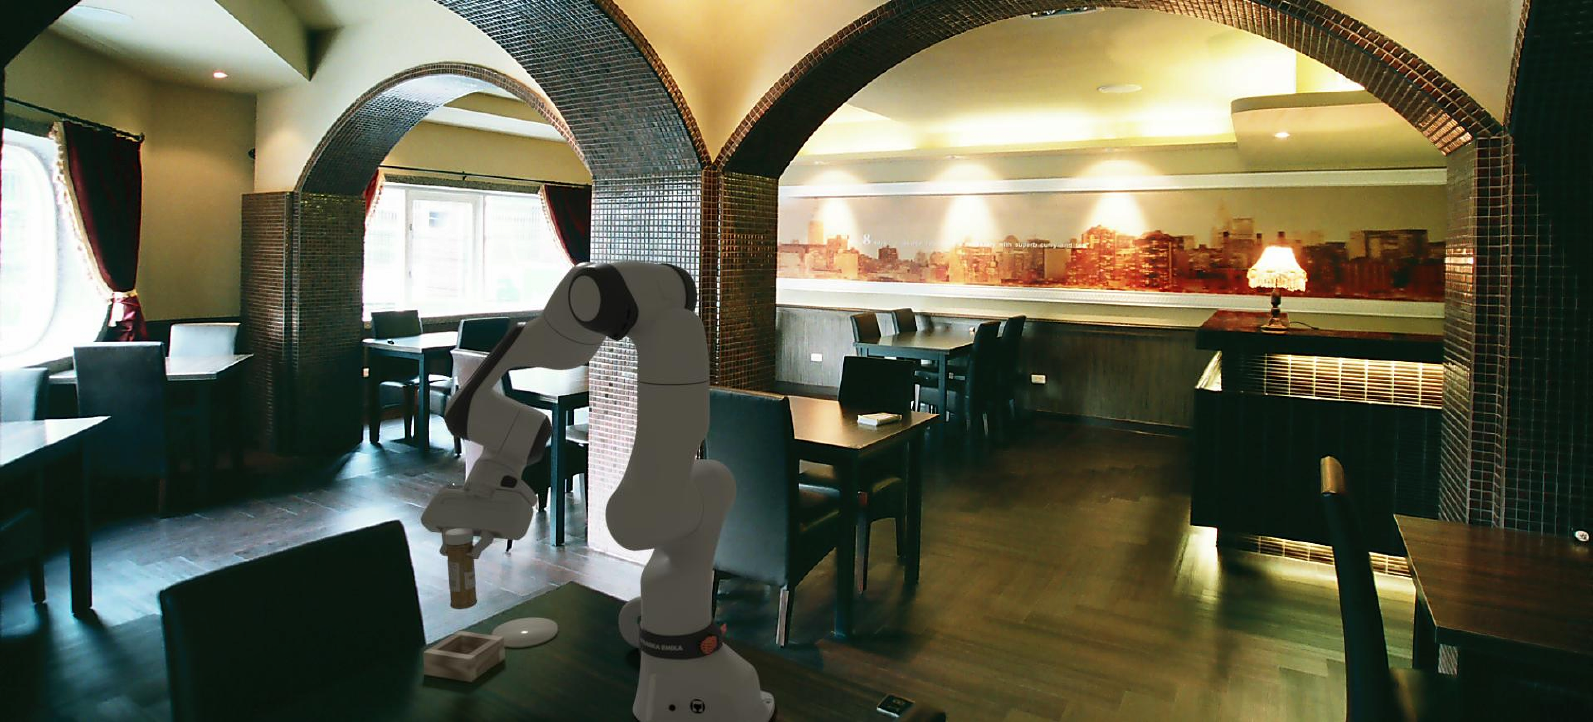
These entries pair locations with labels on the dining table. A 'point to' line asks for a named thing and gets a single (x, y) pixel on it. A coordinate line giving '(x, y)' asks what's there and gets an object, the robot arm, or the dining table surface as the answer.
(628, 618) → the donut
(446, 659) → the holder collar
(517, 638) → the white domed disc
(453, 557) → the sprinkles bottle
